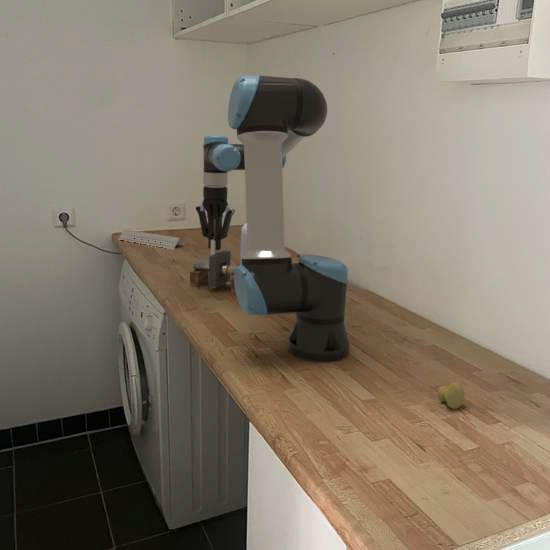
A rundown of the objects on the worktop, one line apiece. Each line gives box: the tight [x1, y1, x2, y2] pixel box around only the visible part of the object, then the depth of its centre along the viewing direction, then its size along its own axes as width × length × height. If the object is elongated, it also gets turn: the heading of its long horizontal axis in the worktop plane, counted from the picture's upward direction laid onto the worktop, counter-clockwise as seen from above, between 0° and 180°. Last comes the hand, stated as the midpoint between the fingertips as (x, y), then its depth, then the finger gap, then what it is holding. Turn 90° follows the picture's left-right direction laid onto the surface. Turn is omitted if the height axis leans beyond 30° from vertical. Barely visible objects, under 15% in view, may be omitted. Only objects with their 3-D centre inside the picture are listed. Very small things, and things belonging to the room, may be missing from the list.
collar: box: [208, 249, 231, 289], centre depth 186 cm, size 2×10×10 cm, turn 158°
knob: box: [437, 382, 465, 410], centre depth 117 cm, size 5×5×5 cm
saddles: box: [189, 269, 236, 295], centre depth 187 cm, size 18×7×5 cm, turn 67°
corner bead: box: [117, 229, 185, 251], centre depth 244 cm, size 29×9×5 cm, turn 65°
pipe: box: [192, 260, 237, 277], centre depth 186 cm, size 18×3×3 cm, turn 67°
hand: (214, 259), depth 186 cm, fingers closed
